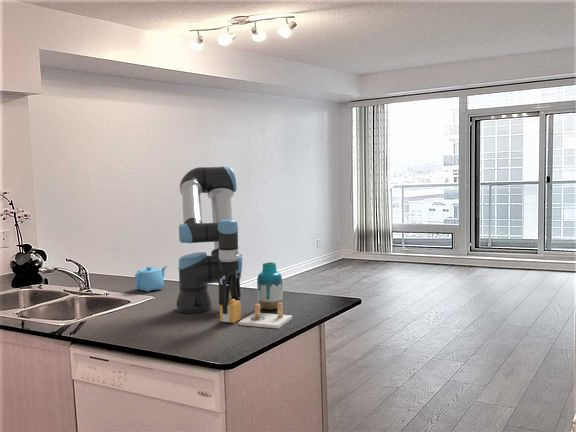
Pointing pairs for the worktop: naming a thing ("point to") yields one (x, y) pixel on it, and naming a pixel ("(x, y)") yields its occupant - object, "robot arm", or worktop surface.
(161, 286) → the teapot
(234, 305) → the yellow toy brick
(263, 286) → the vase
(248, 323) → the plate
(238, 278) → the robot arm
